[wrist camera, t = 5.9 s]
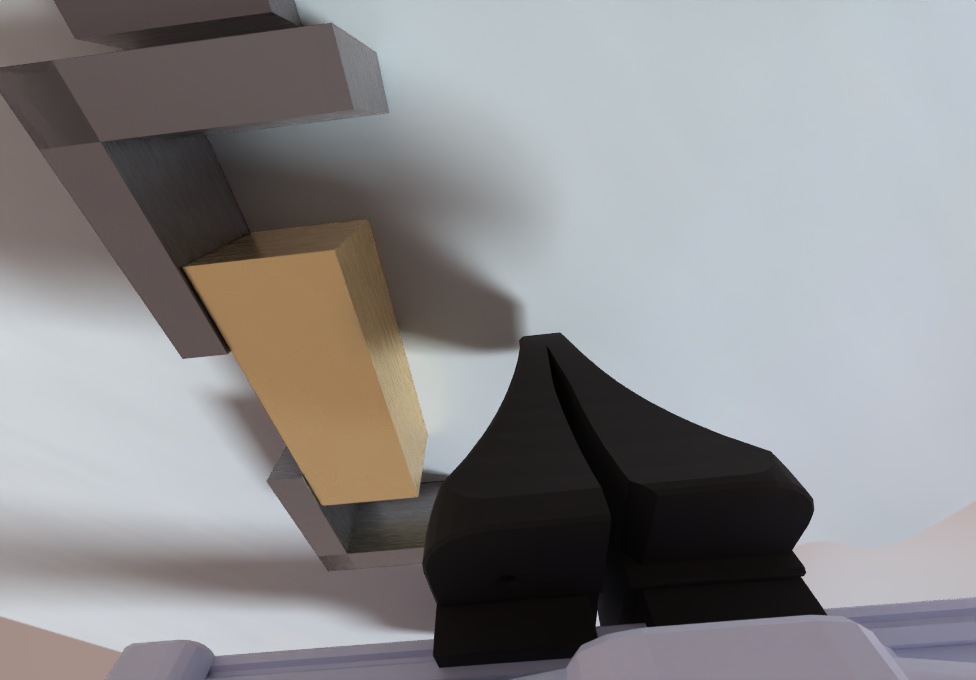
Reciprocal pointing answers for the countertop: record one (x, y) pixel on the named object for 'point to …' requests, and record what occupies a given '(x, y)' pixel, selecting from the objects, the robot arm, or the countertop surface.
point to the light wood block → (322, 354)
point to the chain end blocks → (202, 178)
